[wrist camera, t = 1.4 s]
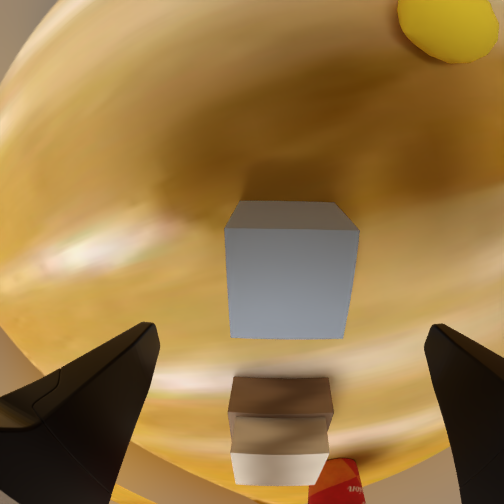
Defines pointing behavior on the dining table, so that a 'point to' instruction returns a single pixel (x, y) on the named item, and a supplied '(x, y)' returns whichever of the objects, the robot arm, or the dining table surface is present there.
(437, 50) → the lemon
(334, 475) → the paper cup
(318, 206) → the slate brick
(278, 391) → the tower base
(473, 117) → the dining table surface
